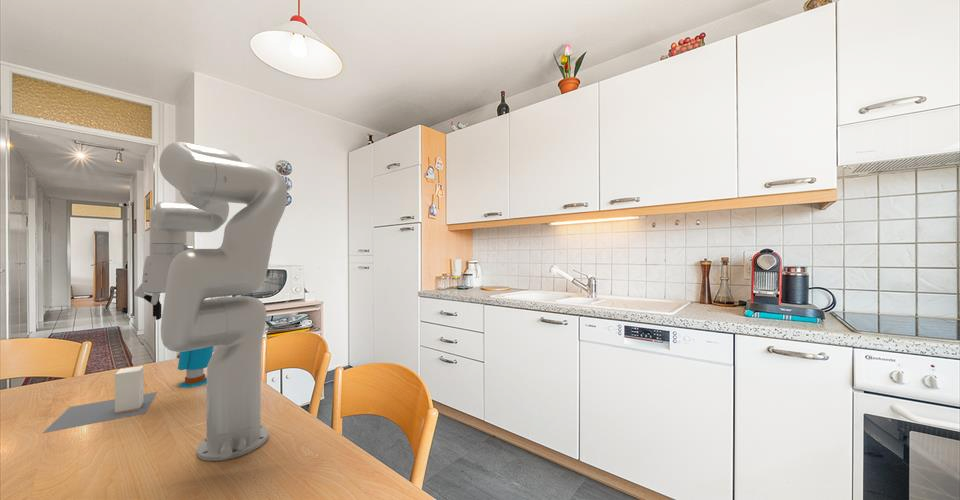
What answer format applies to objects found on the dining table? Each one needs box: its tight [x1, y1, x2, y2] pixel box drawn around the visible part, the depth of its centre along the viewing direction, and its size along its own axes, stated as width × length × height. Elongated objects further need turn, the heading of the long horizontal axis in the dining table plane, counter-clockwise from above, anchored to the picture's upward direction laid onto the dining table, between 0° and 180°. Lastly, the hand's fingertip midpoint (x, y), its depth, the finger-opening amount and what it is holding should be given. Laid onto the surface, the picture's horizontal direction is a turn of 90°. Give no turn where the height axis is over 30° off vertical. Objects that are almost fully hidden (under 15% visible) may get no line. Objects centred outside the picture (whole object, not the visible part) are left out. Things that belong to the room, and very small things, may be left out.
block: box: [114, 365, 145, 414], centre depth 91 cm, size 4×4×10 cm
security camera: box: [176, 346, 214, 388], centre depth 109 cm, size 8×21×10 cm
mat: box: [42, 391, 158, 434], centre depth 90 cm, size 16×17×1 cm
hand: (168, 317), depth 95 cm, fingers open, 3 cm apart
